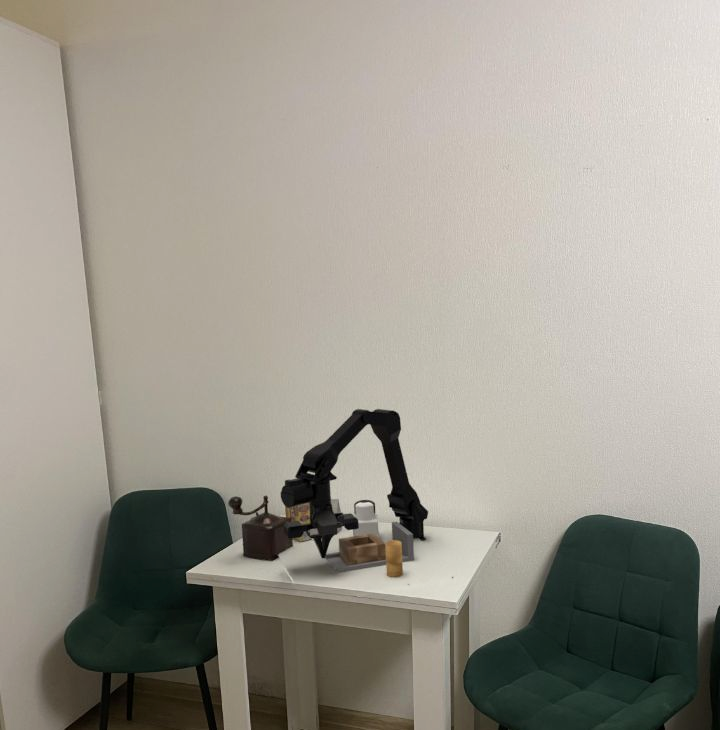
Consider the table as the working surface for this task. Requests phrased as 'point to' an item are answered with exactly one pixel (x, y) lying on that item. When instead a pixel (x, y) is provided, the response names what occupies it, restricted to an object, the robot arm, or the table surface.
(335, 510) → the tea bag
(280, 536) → the manual coffee grinder
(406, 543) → the rail board
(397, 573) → the dowel
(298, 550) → the table surface
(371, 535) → the block
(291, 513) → the candy box
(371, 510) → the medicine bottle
